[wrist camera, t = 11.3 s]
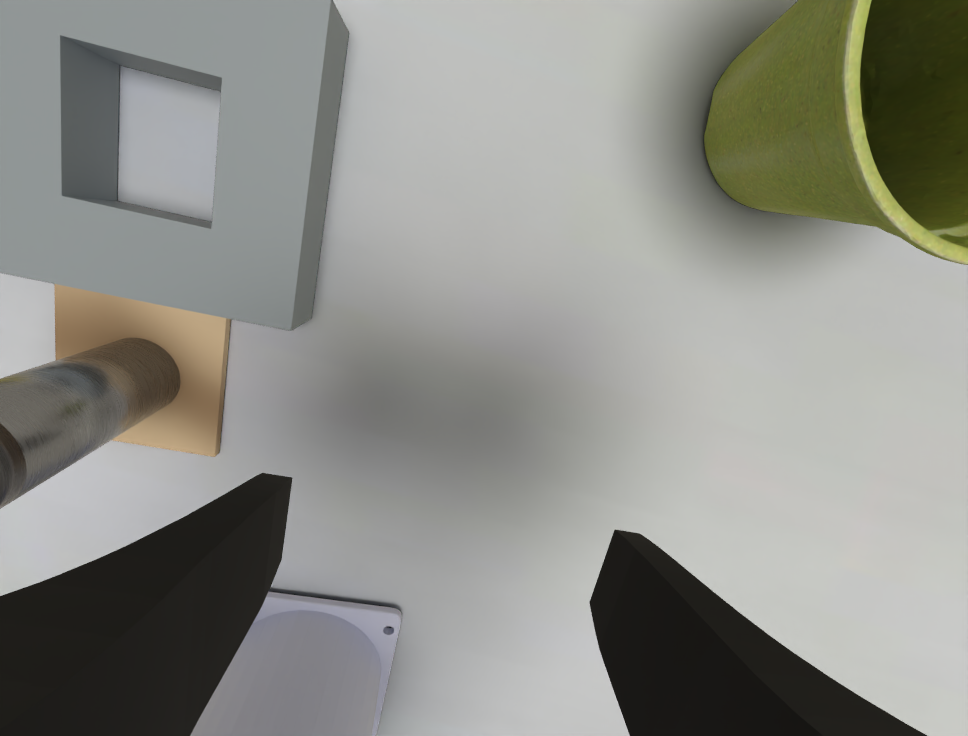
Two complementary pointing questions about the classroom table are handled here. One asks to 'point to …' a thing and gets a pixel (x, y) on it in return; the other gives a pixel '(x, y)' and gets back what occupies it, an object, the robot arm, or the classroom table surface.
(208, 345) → the pad
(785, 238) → the classroom table surface
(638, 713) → the robot arm
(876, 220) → the plant pot
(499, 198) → the classroom table surface
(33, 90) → the block
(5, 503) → the shiny metal cylinder
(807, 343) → the classroom table surface
